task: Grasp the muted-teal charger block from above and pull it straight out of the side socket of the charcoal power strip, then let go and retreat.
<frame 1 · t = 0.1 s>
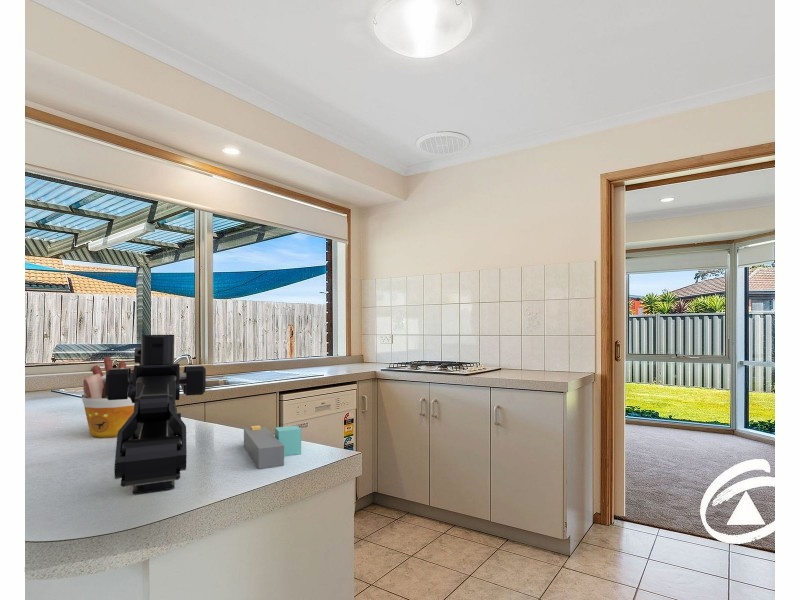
hand: (158, 378, 108), 17 cm above the counter, tool horizontal, fingers open, 9 cm apart
charger: (283, 441, 105), point 3 cm above the counter, slide at 0.0 cm
onion: (141, 452, 108), on the counter
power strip: (262, 455, 104), on the counter
bucket of meat: (115, 433, 126), on the counter
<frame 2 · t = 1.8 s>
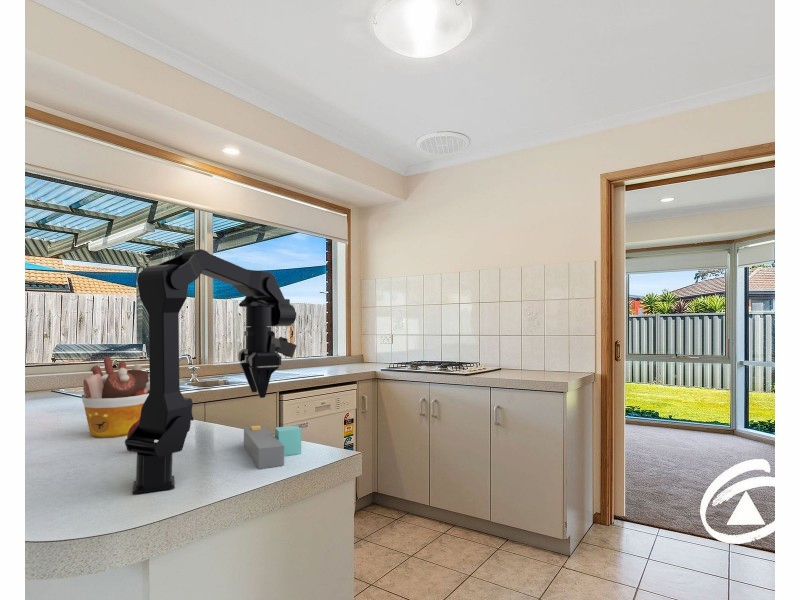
hand: (258, 394, 109), 13 cm above the counter, tool pointing down, fingers open, 9 cm apart
nothing on the counter moved.
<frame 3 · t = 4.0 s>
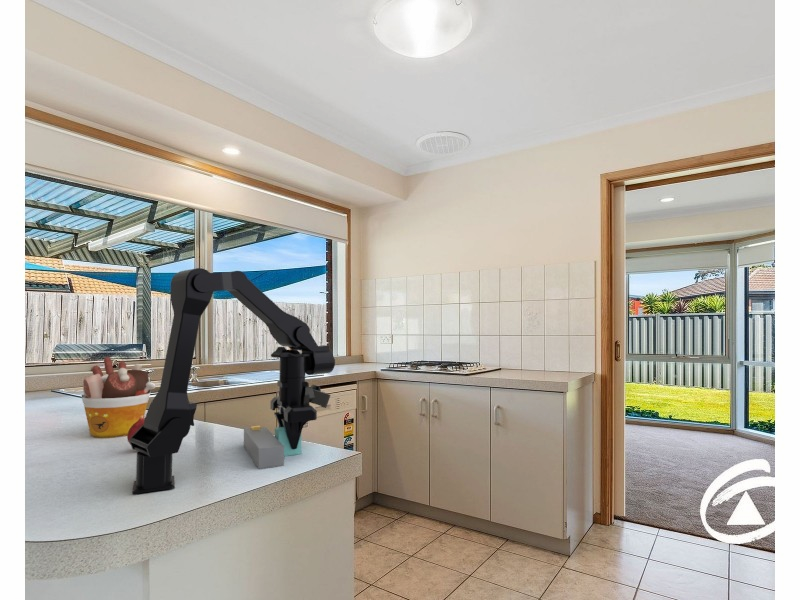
hand: (291, 446, 106), 1 cm above the counter, tool pointing down, fingers closed on charger, 4 cm apart
charger: (283, 441, 105), point 3 cm above the counter, slide at 0.0 cm, touching gripper
everything else where it was.
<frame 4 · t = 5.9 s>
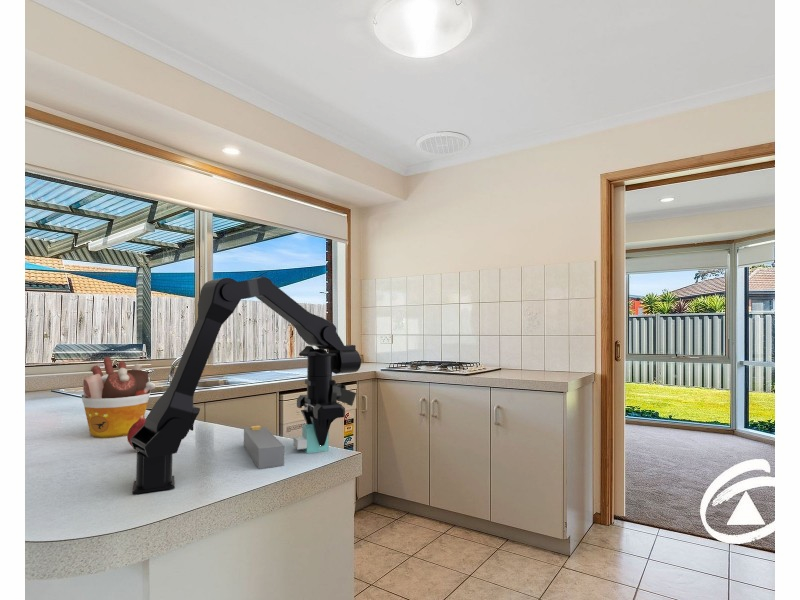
hand: (319, 443, 109), 1 cm above the counter, tool pointing down, fingers closed on charger, 4 cm apart
charger: (310, 438, 108), point 3 cm above the counter, slide at 6.3 cm, touching gripper
everything else where it was.
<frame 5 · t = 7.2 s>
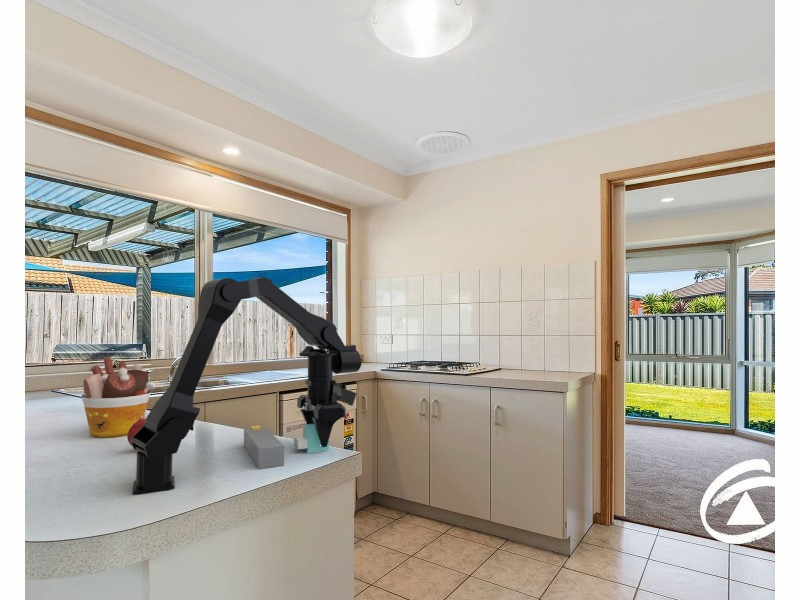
hand: (319, 443, 109), 1 cm above the counter, tool pointing down, fingers open, 7 cm apart
charger: (311, 438, 108), point 3 cm above the counter, slide at 6.4 cm
everything else where it was.
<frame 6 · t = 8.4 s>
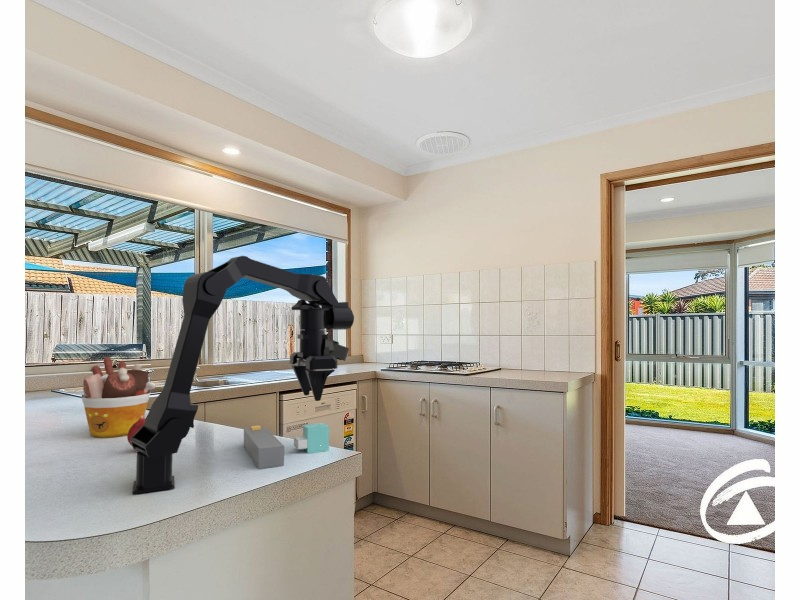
hand: (311, 397, 109), 12 cm above the counter, tool pointing down, fingers open, 9 cm apart
nothing on the counter moved.
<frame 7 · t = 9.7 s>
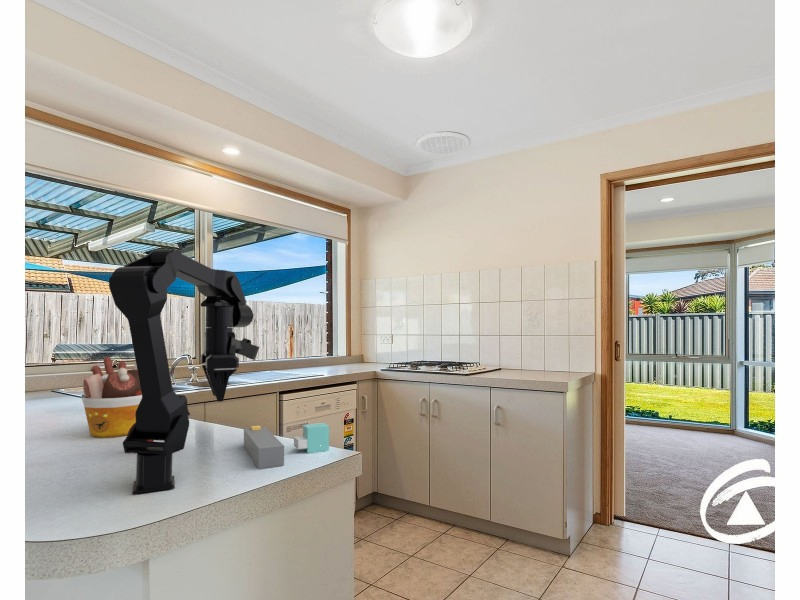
hand: (218, 398, 104), 12 cm above the counter, tool pointing down, fingers open, 9 cm apart
nothing on the counter moved.
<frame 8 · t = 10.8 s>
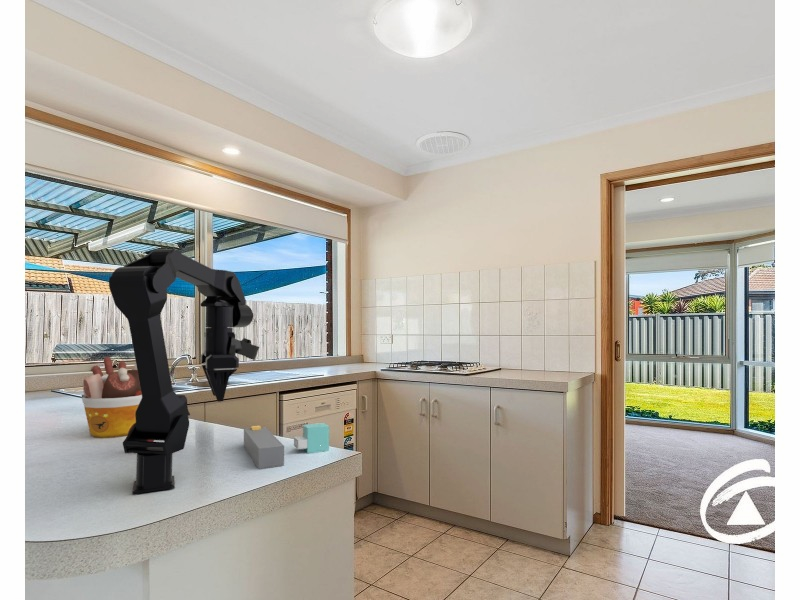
hand: (218, 398, 104), 13 cm above the counter, tool pointing down, fingers open, 9 cm apart
nothing on the counter moved.
at the end: charger slide at 6.4 cm; the gripper is holding nothing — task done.
